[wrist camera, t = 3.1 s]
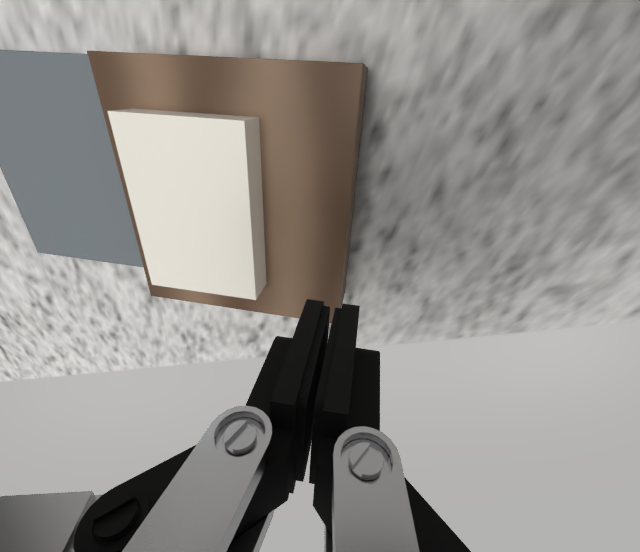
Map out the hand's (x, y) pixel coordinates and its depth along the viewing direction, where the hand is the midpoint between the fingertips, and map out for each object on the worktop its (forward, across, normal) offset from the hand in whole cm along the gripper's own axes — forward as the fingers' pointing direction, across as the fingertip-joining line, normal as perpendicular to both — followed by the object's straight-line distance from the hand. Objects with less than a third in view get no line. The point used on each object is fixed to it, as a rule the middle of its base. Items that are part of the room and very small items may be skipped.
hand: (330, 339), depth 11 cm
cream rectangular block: (+10, +9, -1) cm, 13 cm away
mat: (+14, +21, -1) cm, 25 cm away
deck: (+14, +7, -1) cm, 16 cm away
